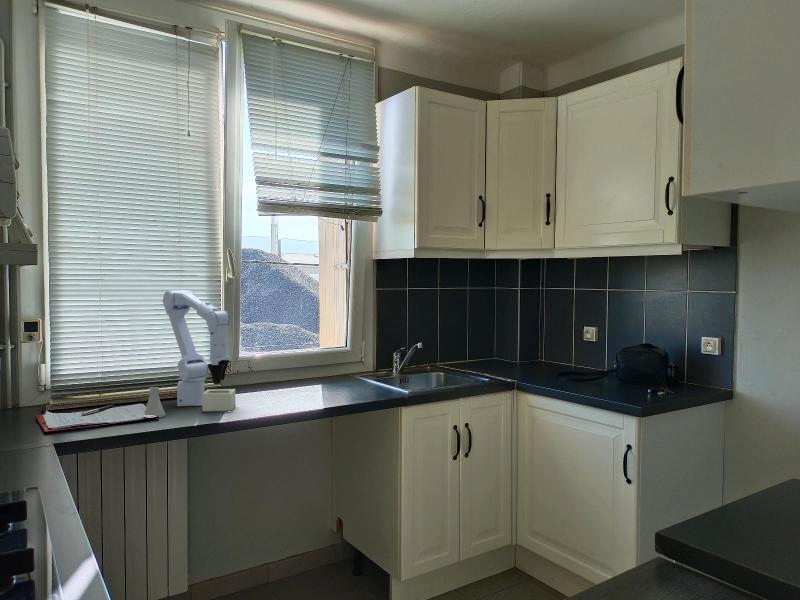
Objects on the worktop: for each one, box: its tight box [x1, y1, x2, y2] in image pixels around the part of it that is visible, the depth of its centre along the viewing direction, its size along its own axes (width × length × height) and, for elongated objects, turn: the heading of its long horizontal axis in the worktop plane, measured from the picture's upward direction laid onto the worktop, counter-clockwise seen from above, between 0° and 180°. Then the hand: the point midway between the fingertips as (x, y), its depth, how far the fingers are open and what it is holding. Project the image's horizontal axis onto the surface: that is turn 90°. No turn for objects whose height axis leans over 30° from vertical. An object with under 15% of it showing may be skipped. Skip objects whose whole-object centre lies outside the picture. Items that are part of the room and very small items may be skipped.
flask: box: [143, 386, 166, 419], centre depth 205 cm, size 7×7×10 cm
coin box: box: [201, 388, 236, 413], centre depth 216 cm, size 10×8×6 cm
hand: (218, 381), depth 216 cm, fingers open, 7 cm apart
